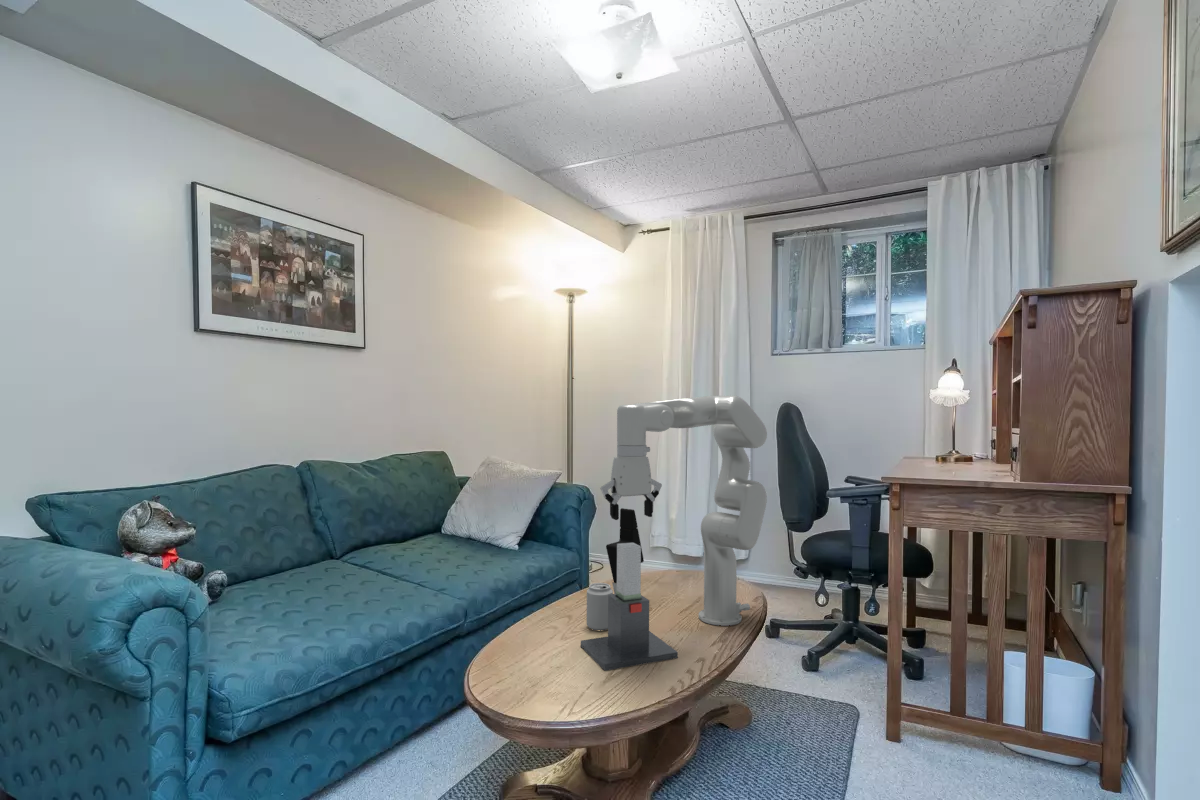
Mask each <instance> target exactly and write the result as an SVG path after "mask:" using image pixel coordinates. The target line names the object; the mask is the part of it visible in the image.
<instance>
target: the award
mask: <svg viewBox="0 0 1200 800" xmlns="http://www.w3.org/2000/svg"><path fill="white" fill-rule="evenodd" d="M619 510H620V511H619V515H620V516H619V539H618V540H617V541H616V542H612V543H608V544H606V546H605V550H606V552H607V553H606V554H607V557H608V562H609V563H608V564H609V566H610V570H611V572H610V573H611V574H612V575H611V576H612V579H613V580H612V581H611V583H612V584H611V585H612V590H613V594H616V590H617V544H621V543H632V542H633V543H635V544H637V545H639V546H641V564H642V563H644V560H645V559H644V555H643V549H642V548H643V547H642V545H641V538H640V533H639V527H638V522H637V516H636V511H635V510H634V509H631V508H630V509H629V508H623V507H622V508H620V509H619Z"/></svg>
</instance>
